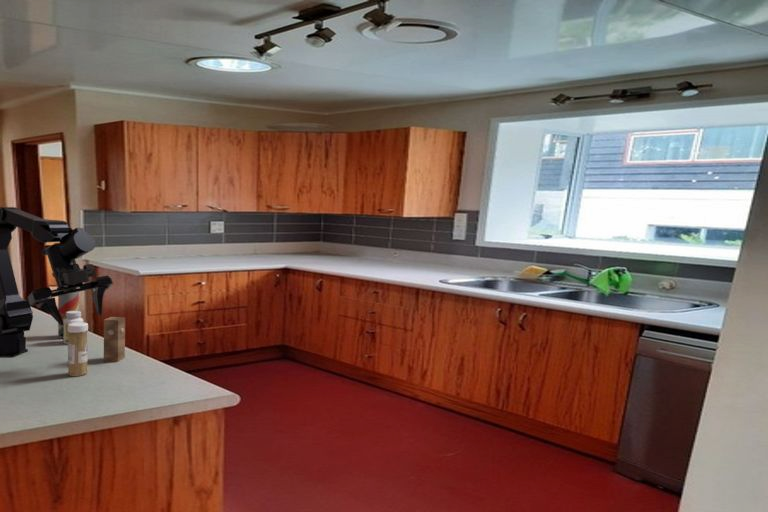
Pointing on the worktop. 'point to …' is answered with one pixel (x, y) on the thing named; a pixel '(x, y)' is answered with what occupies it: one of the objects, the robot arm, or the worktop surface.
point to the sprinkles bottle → (77, 348)
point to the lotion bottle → (67, 308)
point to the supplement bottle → (71, 318)
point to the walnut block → (114, 339)
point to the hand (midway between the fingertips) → (81, 320)
